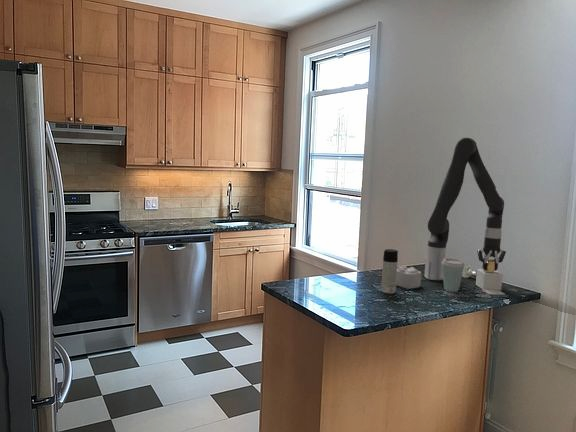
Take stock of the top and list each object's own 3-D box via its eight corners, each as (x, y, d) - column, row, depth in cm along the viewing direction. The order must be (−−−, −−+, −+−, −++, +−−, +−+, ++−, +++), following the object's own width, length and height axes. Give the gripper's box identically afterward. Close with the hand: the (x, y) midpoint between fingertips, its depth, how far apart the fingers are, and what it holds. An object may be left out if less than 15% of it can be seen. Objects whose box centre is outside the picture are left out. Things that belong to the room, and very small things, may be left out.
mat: (488, 294, 227) (488, 293, 227) (482, 290, 234) (482, 289, 233) (505, 295, 227) (505, 294, 227) (498, 290, 234) (498, 290, 234)
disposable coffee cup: (466, 290, 232) (468, 260, 230) (456, 294, 224) (459, 263, 222) (445, 285, 239) (447, 256, 237) (435, 289, 231) (438, 259, 229)
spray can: (396, 291, 227) (399, 249, 224) (393, 294, 221) (396, 252, 218) (383, 289, 230) (385, 248, 227) (379, 292, 224) (382, 250, 221)
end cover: (486, 282, 237) (488, 260, 236) (482, 280, 241) (484, 258, 240) (495, 282, 237) (497, 261, 236) (491, 280, 241) (493, 259, 240)
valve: (458, 276, 260) (475, 282, 249) (459, 264, 259) (476, 269, 248) (467, 275, 263) (484, 281, 252) (468, 263, 262) (485, 268, 251)
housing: (483, 289, 235) (484, 273, 234) (475, 284, 244) (477, 269, 243) (501, 290, 235) (502, 274, 234) (493, 285, 244) (494, 269, 243)
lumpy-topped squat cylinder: (409, 289, 231) (410, 271, 230) (388, 282, 241) (390, 266, 240) (423, 286, 237) (424, 269, 236) (402, 280, 248) (403, 263, 246)
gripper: (503, 235, 240) (500, 268, 242) (475, 234, 240) (472, 268, 242) (510, 238, 233) (507, 272, 235) (481, 237, 232) (478, 271, 235)
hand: (489, 270), depth 238 cm, fingers closed on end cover, 4 cm apart
